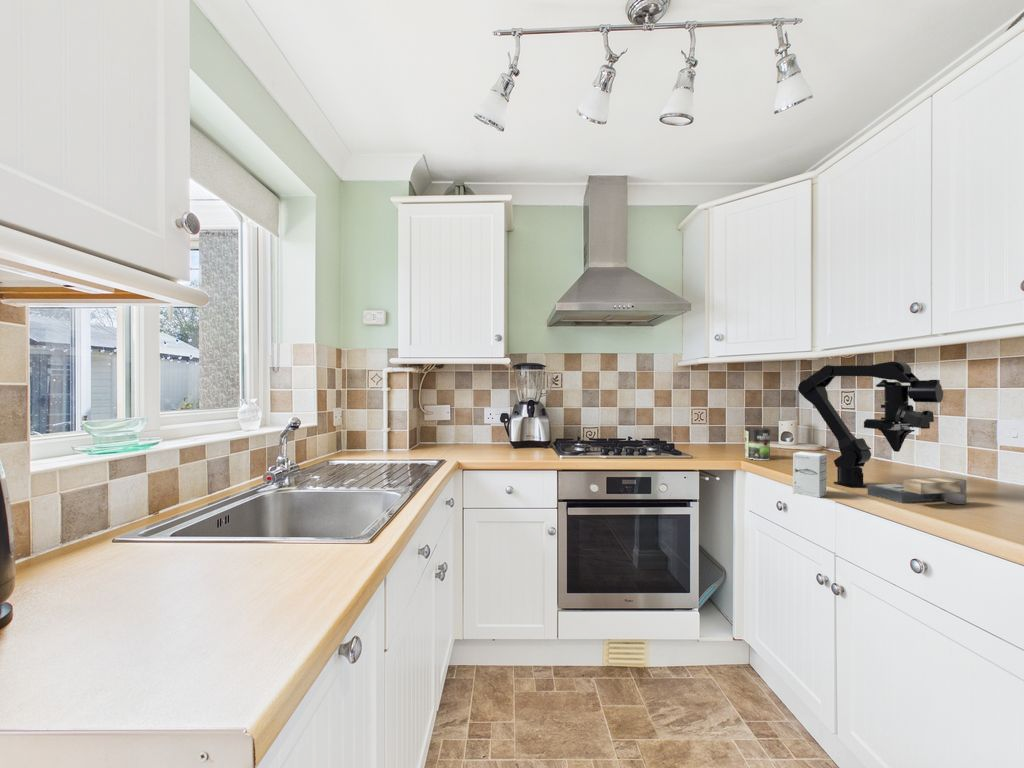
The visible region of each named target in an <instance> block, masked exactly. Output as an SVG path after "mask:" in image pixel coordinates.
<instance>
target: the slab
mask: <svg viewBox="0 0 1024 768" xmlns="http://www.w3.org/2000/svg"><path fill="white" fill-rule="evenodd" d="M867 495H868V496H871V495H872V496H871V497H875V496H876V497H875V498H879V497H881V498H880V499H883V498H885V499H884V500H887V499H889V501H892V500H894V501H893V502H896V501H898V502H897V503H900V502H901V504H907V503H906V502H911V503H920V502H919V501H928V502H934V501H933V500H944V501H945V493H933V494H918V493H913V492H908V491H904V482H899V483H898V482H897V483H880V484H867Z"/></svg>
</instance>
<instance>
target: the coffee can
mask: <svg viewBox="0 0 1024 768" xmlns="http://www.w3.org/2000/svg"><path fill="white" fill-rule="evenodd" d="M770 445H771V429H770V428H766V427H744V456H745V457H744V459H746V458H747V459H746V460H750V459H753V460H752V461H761V460H763V461H771V446H770Z"/></svg>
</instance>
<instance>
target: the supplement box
mask: <svg viewBox="0 0 1024 768" xmlns="http://www.w3.org/2000/svg"><path fill="white" fill-rule="evenodd" d="M792 456H793V457H792V494H793V495H794V494H797V495H803V496H808V497H812V498H813V497H814V498H818V499H819V498H823V497H824V496H826V495H827V479H828V478H827V477H828V476H827V473H828V472H827V469H828V467H827V463H828V462H827V461H828V454H826V453H818V452H809V451H801V450H800V451H796V452H794V453H793V454H792Z"/></svg>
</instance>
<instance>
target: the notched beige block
mask: <svg viewBox="0 0 1024 768" xmlns="http://www.w3.org/2000/svg"><path fill="white" fill-rule="evenodd" d="M903 483H904V491H908V492H913V493H918V494H933V493H945V500H944V502H947V503H949V504H956V505H967V480H966V479H964V478H963V479H962V478H957V477H956V478H955V477H937V478H936V477H935V478H916V479H913V478H912V479H903Z"/></svg>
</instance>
